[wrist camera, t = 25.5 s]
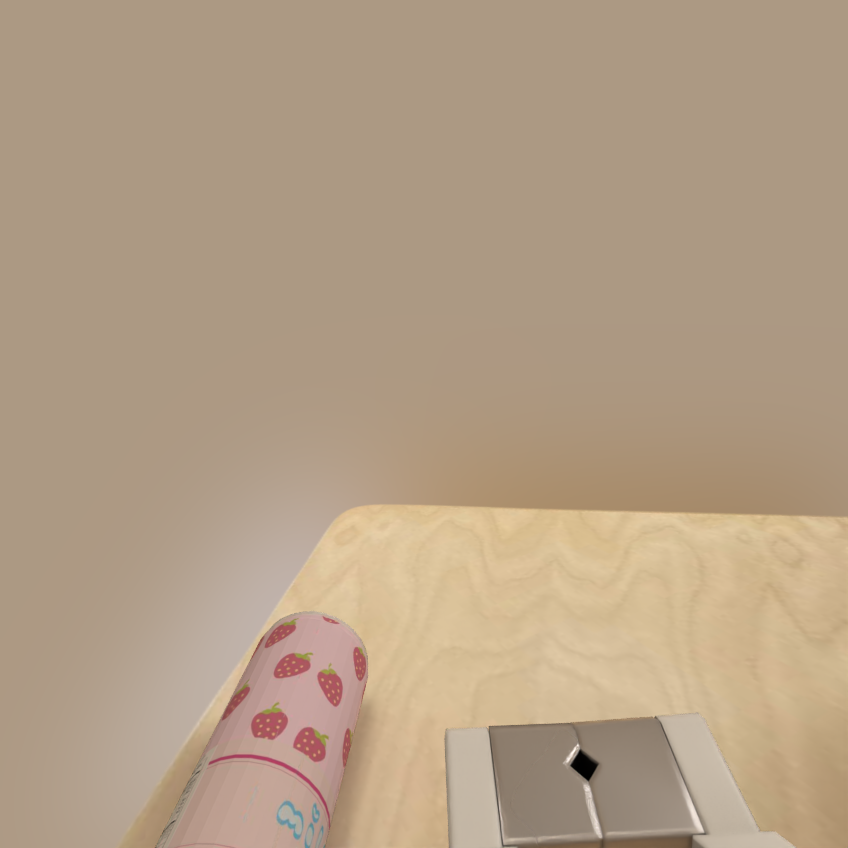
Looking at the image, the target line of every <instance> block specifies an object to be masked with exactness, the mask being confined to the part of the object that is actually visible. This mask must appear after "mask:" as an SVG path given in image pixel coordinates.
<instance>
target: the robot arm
mask: <svg viewBox="0 0 848 848" xmlns="http://www.w3.org/2000/svg"><path fill="white" fill-rule="evenodd" d="M445 762H446V787H447V811H448V835H449V848H796V847H795V846H794V845H792V844H791V843H790V842H788V841H787V840H786V839H784V838H783V837H782V836H780V835H779V834H778V833H776V832H775V831H764V832H760V830H759V828H758V826H757V824H756V822H755V820H754V818H753V816H752V813H751V811H750V809H749V807H748V805H747V803H746V801H745V799H744V797H743V795H742V793H741V791H740V789H739V787H738V785H737V783H736V781H735V779H734V777H733V775H732V773H731V771H730V769H729V767H728V765H727V763H726V761H725V759H724V757H723V755H722V753H721V751H720V749H719V747H718V745H717V743H716V741H715V739H714V737H713V735H712V733H711V731H710V729H709V727H708V725H707V723H706V721H705V719H704V718H703V717H702V716H701V715H700V714H698V713H688V714H675V715H662V716H655V717H654V718H653V717H640V718H627V719H613V720H599V721H585V722H572V723H558V724H532V725H506V726H489V732H488V728H487V727H483V728H450V729H446V732H445Z"/></svg>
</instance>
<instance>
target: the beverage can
mask: <svg viewBox="0 0 848 848" xmlns="http://www.w3.org/2000/svg"><path fill="white" fill-rule="evenodd" d="M367 679H368V656H367V652H366V648H365V646H364V644H363V642H362V640H361V638H360V637H359V636H358V635H357V633H356V632H355V631H354V630H353V629H352V628H351V627H350V626H349V625H347V624H346V623H345V622H343V621H342V620H340V619H338V618H336V617H334V616H332V615H329V614H326V613H321V612H315V611H310V612H299V613H294V614H290V615H288V616H286V617H284V618H282V619H280V620H279V621H277V622H276V623H275V624H274V625H273V626H272V627H271V628H270V629H269V631H267V633H266V634H265V635H264V636H263V637H262V639H261V640H260V642H259V644H258V646H257V648H256V650H255V652H254V654H253V656H252V658H251V660H250V662H249V664H248V666H247V668H246V670H245V672H244V673H243V675H242V677H241V679H240V681H239V683H238V685H237V687H236V689H235V691H234V693H233V695H232V697H231V699H230V701H229V703H228V705H227V707H226V709H225V711H224V713H223V715H222V717H221V719H220V721H219V723H218V725H217V727H216V729H215V731H214V733H213V734H212V736H211V738H210V740H209V742H208V744H207V746H206V748H205V750H204V752H203V754H202V756H201V758H200V760H199V762H198V764H197V766H196V768H195V770H194V772H193V774H192V776H191V778H190V780H189V782H188V784H187V786H186V788H185V790H184V792H183V794H182V795H181V797H180V799H179V801H178V803H177V805H176V807H175V809H174V811H173V813H172V815H171V817H170V819H169V821H168V823H167V825H166V827H165V829H164V831H163V833H162V835H161V837H160V839H159V841H158V843H157V845H156V847H155V848H325V845H326V841H327V837H328V833H329V829H330V825H331V821H332V817H333V813H334V809H335V805H336V801H337V797H338V793H339V789H340V785H341V781H342V778H343V774H344V770H345V766H346V762H347V758H348V754H349V750H350V746H351V742H352V738H353V734H354V730H355V726H356V722H357V718H358V714H359V710H360V706H361V702H362V699H363V695H364V691H365V687H366V683H367Z"/></svg>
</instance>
